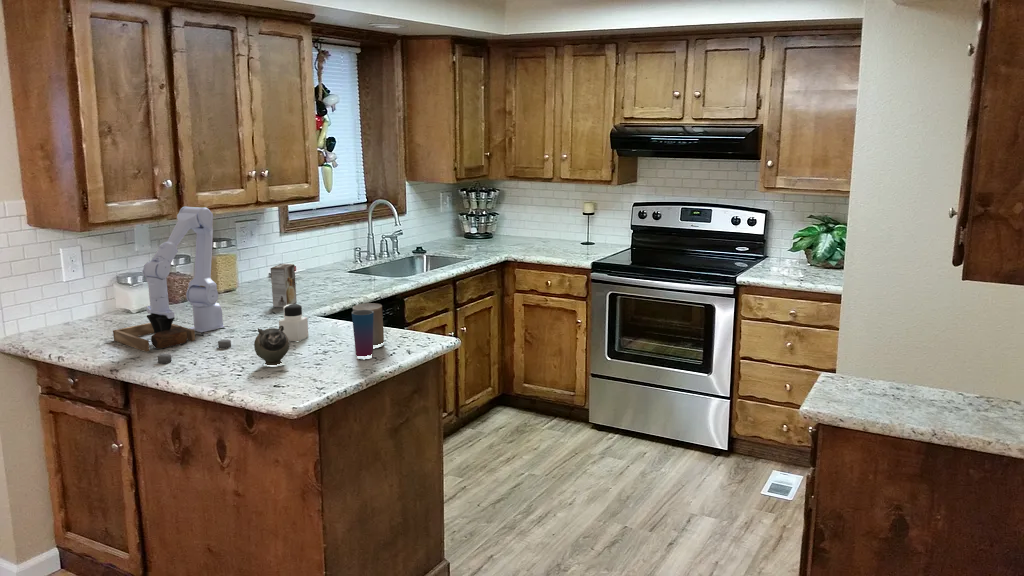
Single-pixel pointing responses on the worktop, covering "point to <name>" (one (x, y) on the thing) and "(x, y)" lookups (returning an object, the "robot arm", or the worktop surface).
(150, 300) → the robot arm
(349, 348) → the worktop surface
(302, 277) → the worktop surface
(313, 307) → the worktop surface
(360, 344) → the cup
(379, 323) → the pillar candle
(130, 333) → the wooden frame
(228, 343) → the puck right
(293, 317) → the medicine bottle
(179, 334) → the brick
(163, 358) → the puck left
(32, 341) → the worktop surface
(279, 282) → the coffee box
